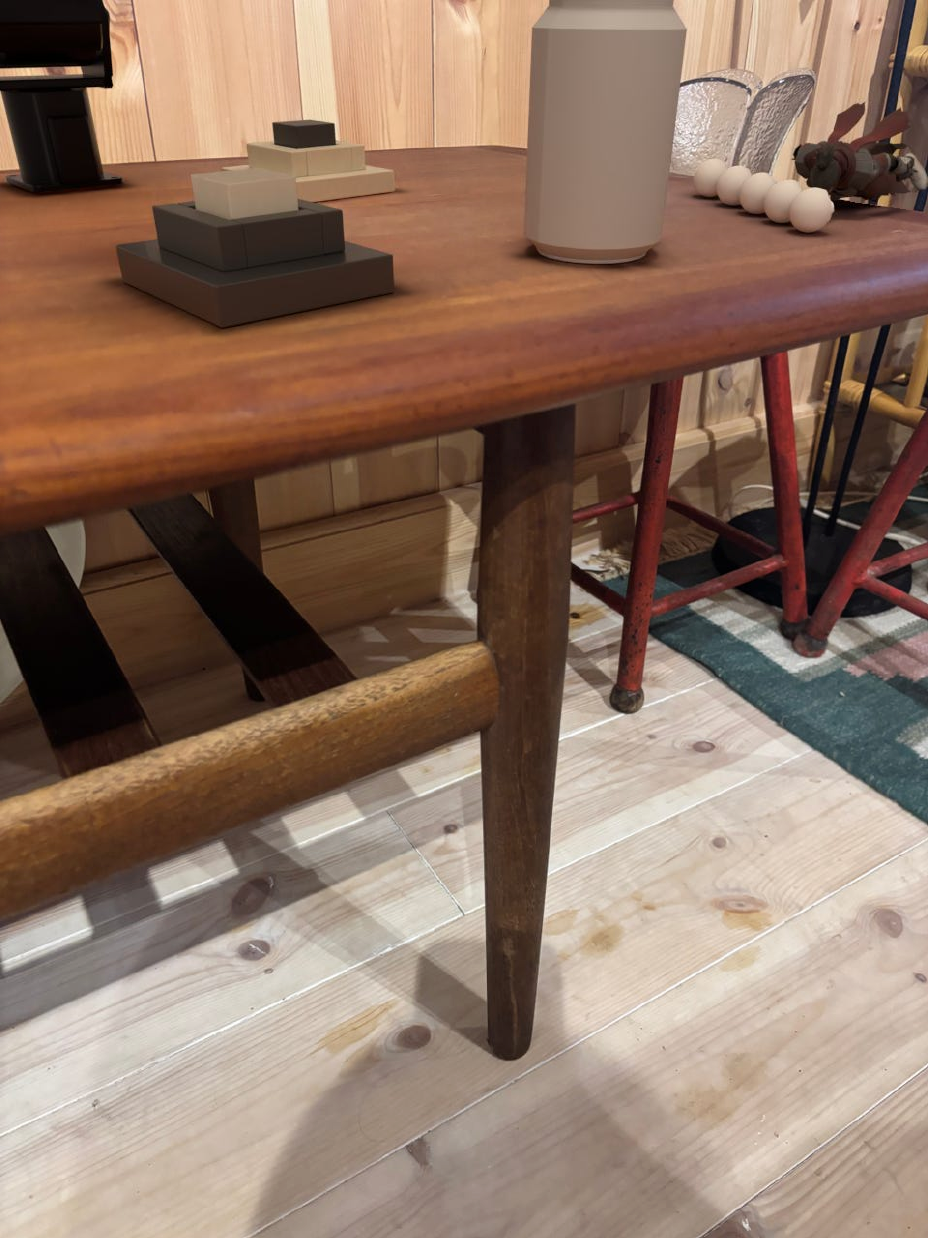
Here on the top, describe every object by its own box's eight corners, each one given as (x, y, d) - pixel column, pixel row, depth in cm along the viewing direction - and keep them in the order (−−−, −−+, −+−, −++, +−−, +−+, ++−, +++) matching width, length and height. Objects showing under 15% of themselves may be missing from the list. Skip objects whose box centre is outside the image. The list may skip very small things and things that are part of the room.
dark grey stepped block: (122, 281, 44) (106, 203, 42) (282, 255, 48) (275, 183, 46) (221, 328, 37) (208, 238, 35) (395, 292, 42) (392, 211, 40)
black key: (274, 149, 65) (271, 122, 64) (312, 146, 66) (310, 119, 65) (298, 154, 63) (295, 125, 62) (336, 150, 64) (334, 122, 63)
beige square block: (196, 216, 41) (190, 174, 40) (261, 207, 43) (257, 167, 42) (232, 227, 39) (227, 183, 38) (299, 218, 41) (295, 175, 40)
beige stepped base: (223, 188, 66) (217, 142, 65) (326, 176, 71) (323, 133, 69) (288, 205, 61) (283, 155, 59) (395, 191, 65) (393, 145, 64)
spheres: (723, 156, 64) (715, 194, 65) (691, 155, 64) (684, 193, 65) (847, 191, 52) (835, 236, 53) (810, 189, 52) (798, 235, 53)
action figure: (821, 189, 70) (746, 204, 57) (840, 100, 67) (765, 94, 54) (931, 198, 67) (878, 215, 54) (956, 104, 64) (907, 99, 50)
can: (689, 256, 49) (726, -15, 42) (583, 274, 45) (606, -19, 38) (597, 232, 54) (617, -13, 47) (495, 246, 50) (502, -16, 44)
